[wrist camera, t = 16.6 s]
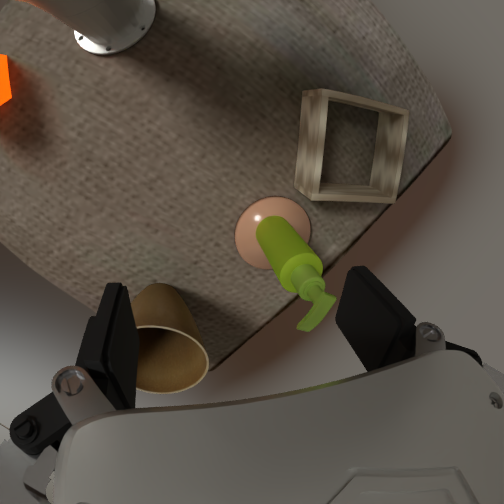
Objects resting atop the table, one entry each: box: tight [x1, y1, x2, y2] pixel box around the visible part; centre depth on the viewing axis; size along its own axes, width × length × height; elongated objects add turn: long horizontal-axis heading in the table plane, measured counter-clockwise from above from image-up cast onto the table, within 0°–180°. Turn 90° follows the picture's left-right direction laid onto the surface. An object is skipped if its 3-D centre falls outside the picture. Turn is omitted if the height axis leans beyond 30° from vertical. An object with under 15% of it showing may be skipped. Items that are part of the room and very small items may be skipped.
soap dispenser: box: [256, 216, 337, 332], centre depth 38 cm, size 6×7×20 cm
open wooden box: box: [294, 88, 409, 204], centre depth 40 cm, size 16×16×7 cm
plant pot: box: [131, 283, 209, 394], centre depth 42 cm, size 15×15×16 cm
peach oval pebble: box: [234, 196, 310, 269], centre depth 48 cm, size 13×13×1 cm
